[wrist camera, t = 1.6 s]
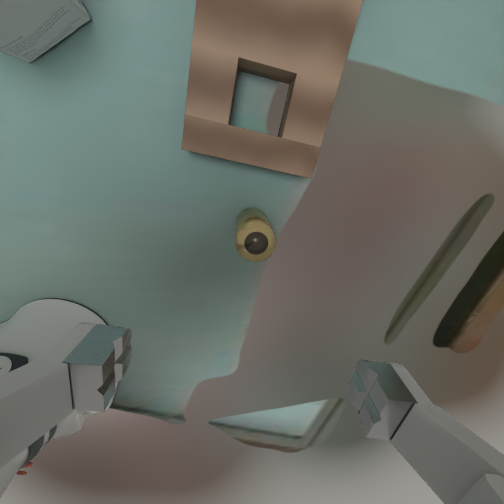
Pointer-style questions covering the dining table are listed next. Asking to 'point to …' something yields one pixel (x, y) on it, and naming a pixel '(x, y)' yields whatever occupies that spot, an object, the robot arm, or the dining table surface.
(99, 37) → the dining table surface
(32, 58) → the skincare box
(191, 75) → the walnut block
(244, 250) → the brass sleeve
